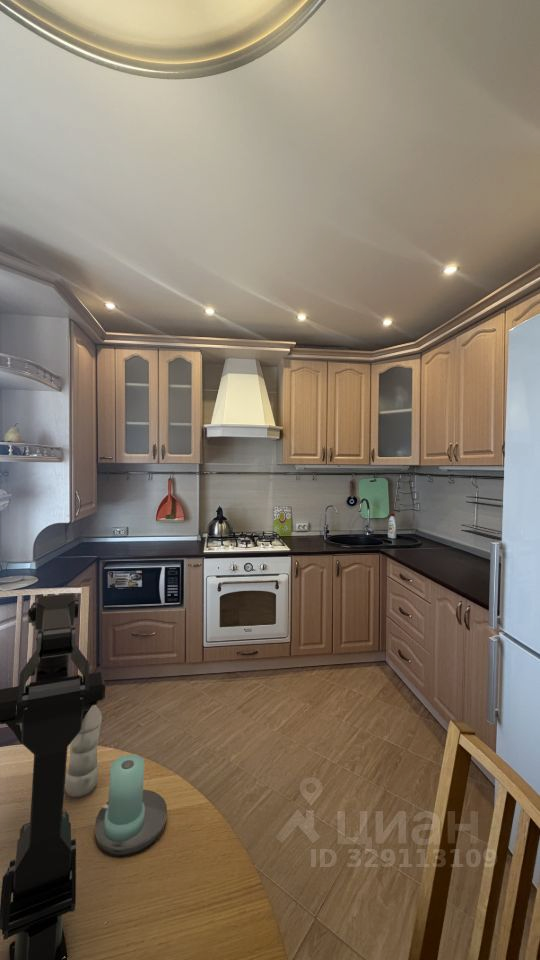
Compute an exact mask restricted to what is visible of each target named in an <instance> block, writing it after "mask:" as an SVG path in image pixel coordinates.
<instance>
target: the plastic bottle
mask: <svg viewBox="0 0 540 960" xmlns="http://www.w3.org/2000/svg"><path fill="white" fill-rule="evenodd" d="M102 720H103V715H102V712H101V709H99V707H98V706H97V704H96V705H93V706H92V707H91V708H90V710H89V711H88V713H87V714H86V716H85V717H84V719H83V721H82V729H81V731H80V732H79V733H78V734H77V736H76V737H75V738H74V739H73V741H72V742H71V743H70V744H69V759H68V760H69V761H68V767H67V769H66V774H65V788H64V790H65V791H66V793H67V795H68V796H69V797H72V798H80V797H83V796H86V795H88V794H89V793H91V792H92V791H93V790H94V789H95V787H96V785H97V783H98V779H99V774H100V773H99V763H98V743H99V736H100V735H99V734H100V730H101V725H102Z"/></svg>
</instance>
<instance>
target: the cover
mask: <svg viewBox="0 0 540 960" xmlns="http://www.w3.org/2000/svg"><path fill="white" fill-rule="evenodd" d="M109 769H110V771H109V784H108V785H109V788H108V801H109V803H108V809H107V810H106V813H105V822H104V833H105V836H106V837H107V838H108V839H109V840H111V841H115V842H122V841H126V840H129V839H131V838H133V837H134V836H136V835H137V834H138V833H139V832H140V831H141V829H142V828H143V825H144V814H145V805H144V803H143V802H142V800H143V790H144V780H145V779H144V777H145V775H144V774H145V759H144V757H142V756H141V755H139V754H132V753H130V754H125V755H122V756H120V757H118V758H116V759H115V760H113V761H112V763H111V765H110V768H109Z"/></svg>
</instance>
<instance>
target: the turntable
mask: <svg viewBox="0 0 540 960" xmlns="http://www.w3.org/2000/svg"><path fill="white" fill-rule="evenodd" d="M142 802H143V803H144V805H145V814H144V825H143V828H142V829H141V831H140V832H139V833H138V834H137V835H136V836H134V837H133V838H131V839H129V840H126V841H122V842H115V841H111V840H109V839H108V838H107V837H106V836H105V833H104V822H105V813H106V810H107V809H108V803H109V800H108V801H107V802H105V804H104V805H103V806H102V807H101V808H100V810H99V811H98V813H97V816H96V818H95V822H94V835H95V838H97V840H98V842H99V843H100V844H101V845H102V846H104V847H106V848H108V849H111V850H115V851H127V850H132V849H136V848H139V847H141V846H143V845H145V844H147V843H148V842H150V841H151V840H153V839H154V838H155V837H156V836H157V835H158V834H159V833H160V831H161V830H162V828H163V827H164V828H165V825H166V824H165V823H166V822H167V817H168V814H167V813H168V808H167V803H166V800H165V799H164V797H162V795H160V794H159V793H157V792H155V791H153V790H149V789H143V800H142ZM97 840H96V841H97Z"/></svg>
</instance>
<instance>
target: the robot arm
mask: <svg viewBox="0 0 540 960" xmlns="http://www.w3.org/2000/svg"><path fill="white" fill-rule="evenodd" d="M75 597H76V596H75V594H74V593H63V594H62V593H61V594H50V595H48V594H47V595H38V596H37V600H36V602H32V604H31V607H30V608H28V610H27V611H28V612H27V614H28V615H27V623H28V624H31V627H34V629H35V630H36V631H37V633H36V639H35V652H33V654H32V655H31V657H29V659H28V661H27V662H26V664H25V666H23V669H21V671H20V674H19V680H18V686H12V687H6V688H0V725H6V726H8V728H9V729H10V730H11V731H12V732H13V734H14V736H15V737H16V738H17V740H18V742H19V743H20V744H21V745H22V746H24V747H25V748H26V749H27V750H28V751H30V752H31V753H32V754H33V764H32V765H33V767H32V783H31V784H32V786H31V802H30V816H29V817H30V819H29V822H27V823H24V824H23V825H22V826H21V828H20V830H19V838H18V839H17V840H16V841H17V842H16V849H15V850H16V851H15V859H11V860H10V861H9V866H8V867H7V871H6V872H5V874H4V875H3V876H2V883H1V894H0V930H1V931H2V932H1V936H3V939H2V940H3V941H5V940H8V939H9V938H10V937H13V936H15V937H14V938H15V940H14V941H12V942H10V943H9V947H8V956H9V957H8V958H9V960H62V958H63V957H64V956H65V957H66V958H65V959H63V960H67V958H68V957H69V955H68V950H67V944H66V938H65V933H64V928H63V927H64V926H63V925H64V924H63V923H64V915H65V914H68V913H73V912H74V911H75V910H76V905H77V904H76V900H77V896H76V894H77V893H76V892H77V888H76V887H77V841H76V839H77V838H73V839H72V824H71V822H70V814H69V813H68V812H67V810H66V811H64V799H65V797H64V796H65V779H66V774H67V760H68V758H67V757H68V748H69V747H70V743H71V742H72V741H73V739H74V738H75V737H76V736H77V734H78V733H79V732H80V731H81V729H82V721H83V719H84V717H85V716H86V714H87V713H88V711H89V710H90V708H91V707H92V706H93V705H96V706H97V704H99V703H98V702H99V701H103V700H104V699H105V698H106V684H105V683H106V682H105V675H104V673H102V672H101V671H100V672H99V671H98V672H94V673H90V664H89V661H88V659H87V658H86V657H85V656H84V654H83V652H82V651H81V650H80V649H79V647H78V646H77V642H76V636H77V635H76V631H77V630H76V626H74V625H75V622H77V620H78V617H79V599H78V598H75ZM70 660H71V661H72V663H74V665H75V667H76V668H77V669H78V670H79V672H80V674H81V675H82V676H81V675H80V674H75V675H70ZM33 676H34V681H31V682H29V684H26V683H27V682H28V681H29V679H30V678H31V677H33ZM68 959H69V958H68Z"/></svg>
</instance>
